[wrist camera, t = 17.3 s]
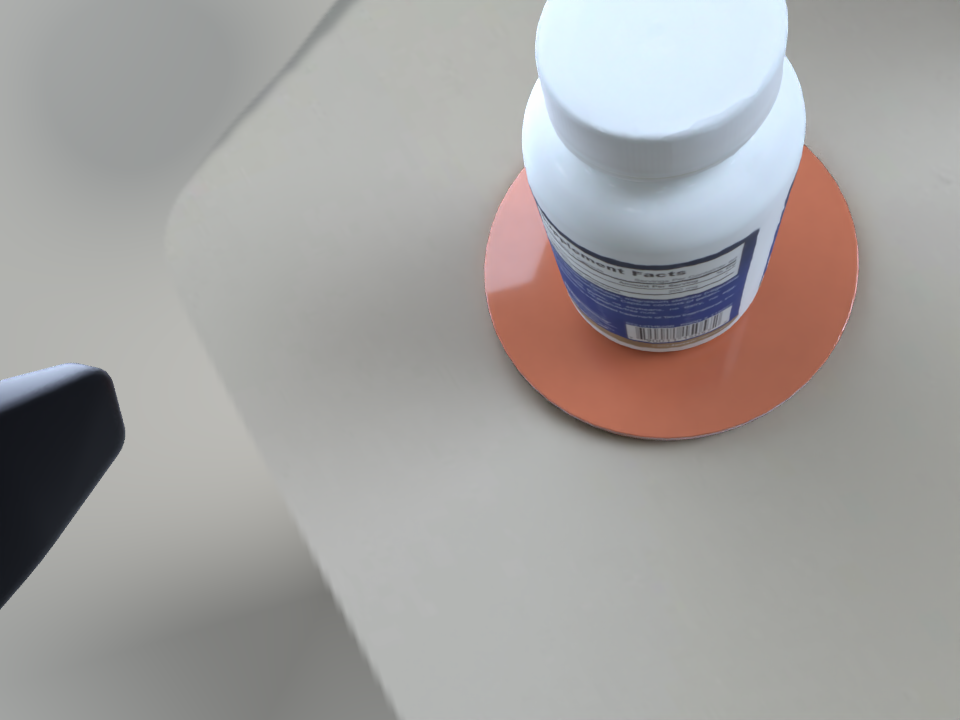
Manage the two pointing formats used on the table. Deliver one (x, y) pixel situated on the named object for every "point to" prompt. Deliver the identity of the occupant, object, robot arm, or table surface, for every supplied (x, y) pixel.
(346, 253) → the table surface
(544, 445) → the table surface
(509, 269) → the coaster
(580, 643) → the table surface
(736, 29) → the pill bottle
